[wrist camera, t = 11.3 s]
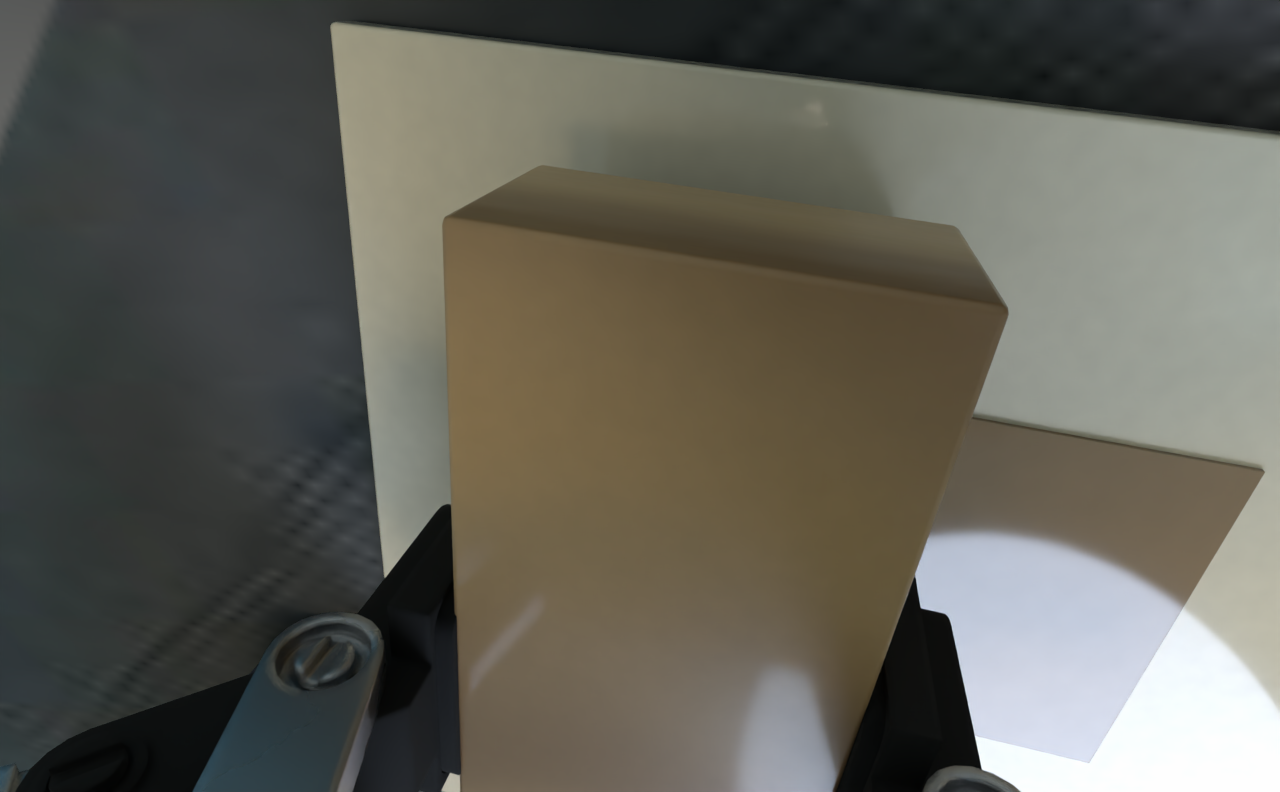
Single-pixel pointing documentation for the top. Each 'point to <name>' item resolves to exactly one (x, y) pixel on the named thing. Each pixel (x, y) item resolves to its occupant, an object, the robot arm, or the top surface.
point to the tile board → (1011, 395)
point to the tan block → (691, 474)
